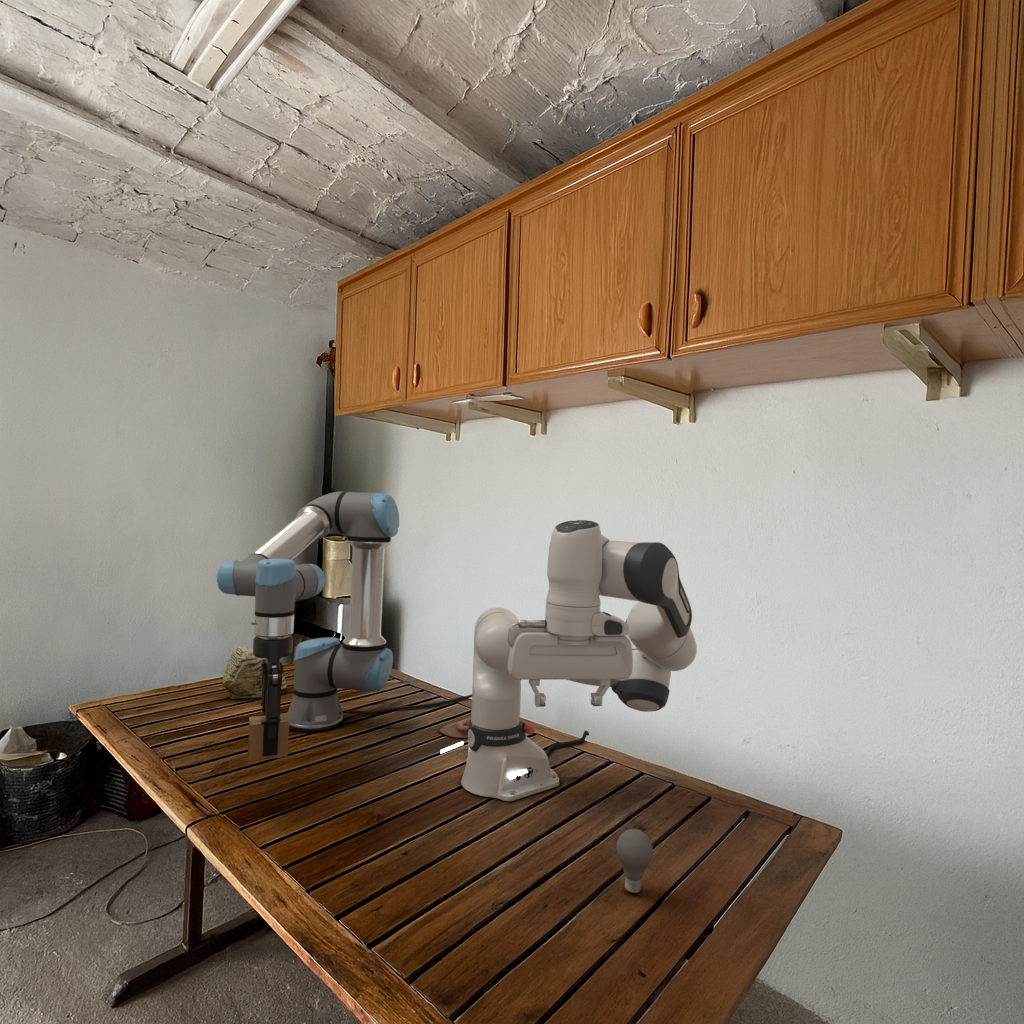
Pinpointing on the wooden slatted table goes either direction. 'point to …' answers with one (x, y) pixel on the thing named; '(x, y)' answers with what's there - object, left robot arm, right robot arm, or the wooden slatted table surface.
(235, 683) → the fossil
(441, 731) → the anatomical model
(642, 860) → the light bulb
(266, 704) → the left robot arm
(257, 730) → the tan brown block
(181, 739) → the wooden slatted table surface
